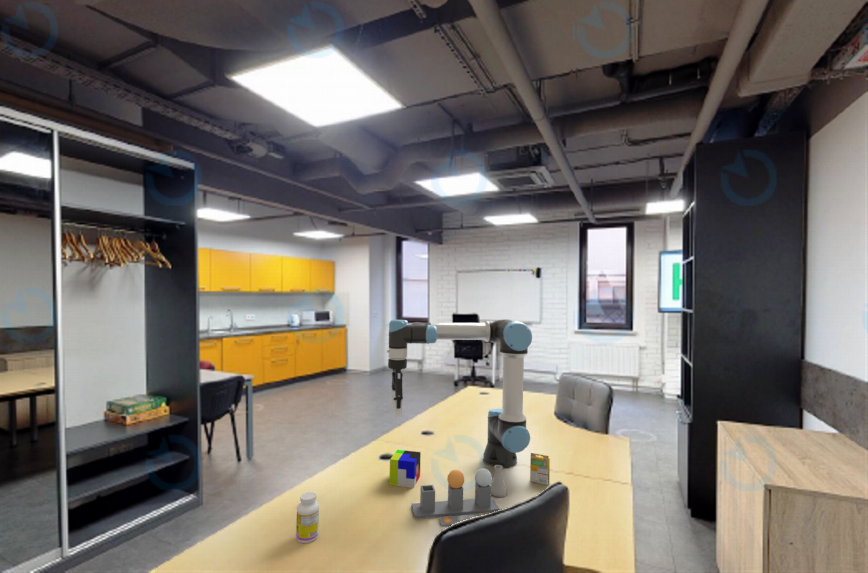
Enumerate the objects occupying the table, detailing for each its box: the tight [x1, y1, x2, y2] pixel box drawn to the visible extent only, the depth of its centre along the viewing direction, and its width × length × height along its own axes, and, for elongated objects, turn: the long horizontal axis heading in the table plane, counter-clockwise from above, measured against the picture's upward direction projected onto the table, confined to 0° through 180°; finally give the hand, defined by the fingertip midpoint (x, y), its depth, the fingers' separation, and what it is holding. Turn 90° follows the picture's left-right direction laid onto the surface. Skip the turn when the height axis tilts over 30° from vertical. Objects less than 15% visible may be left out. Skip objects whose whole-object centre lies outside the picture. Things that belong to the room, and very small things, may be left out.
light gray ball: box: [474, 467, 493, 487], centre depth 143 cm, size 6×6×6 cm
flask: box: [490, 465, 508, 498], centre depth 154 cm, size 7×7×10 cm
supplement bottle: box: [295, 491, 320, 544], centre depth 124 cm, size 7×7×13 cm
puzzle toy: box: [388, 449, 421, 489], centre depth 162 cm, size 10×10×10 cm
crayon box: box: [529, 452, 551, 486], centre depth 163 cm, size 7×3×12 cm, turn 65°
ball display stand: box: [411, 481, 501, 520], centre depth 142 cm, size 30×8×8 cm, turn 101°
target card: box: [438, 514, 481, 528], centre depth 134 cm, size 14×4×1 cm, turn 101°
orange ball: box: [446, 469, 465, 489], centre depth 142 cm, size 6×6×6 cm
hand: (396, 411), depth 162 cm, fingers open, 13 cm apart
